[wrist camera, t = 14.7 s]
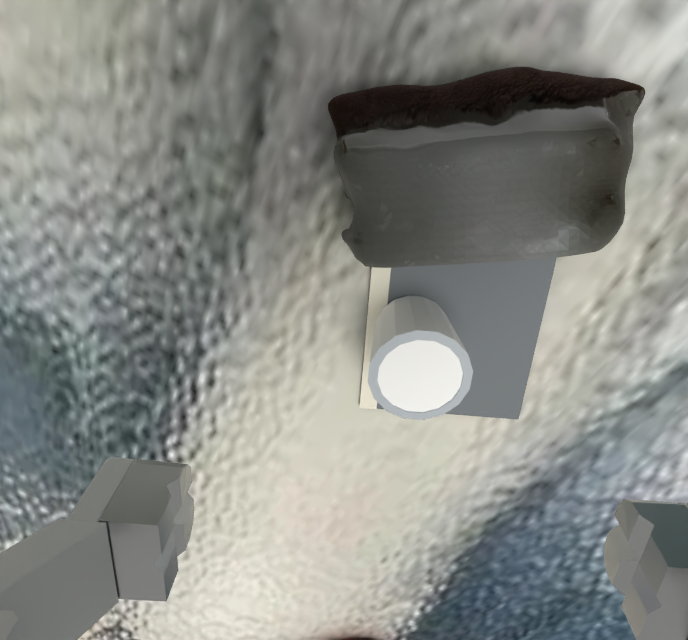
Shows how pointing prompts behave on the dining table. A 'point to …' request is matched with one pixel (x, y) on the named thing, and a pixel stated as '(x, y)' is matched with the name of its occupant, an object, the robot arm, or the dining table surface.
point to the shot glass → (417, 360)
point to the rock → (485, 167)
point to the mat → (475, 323)
